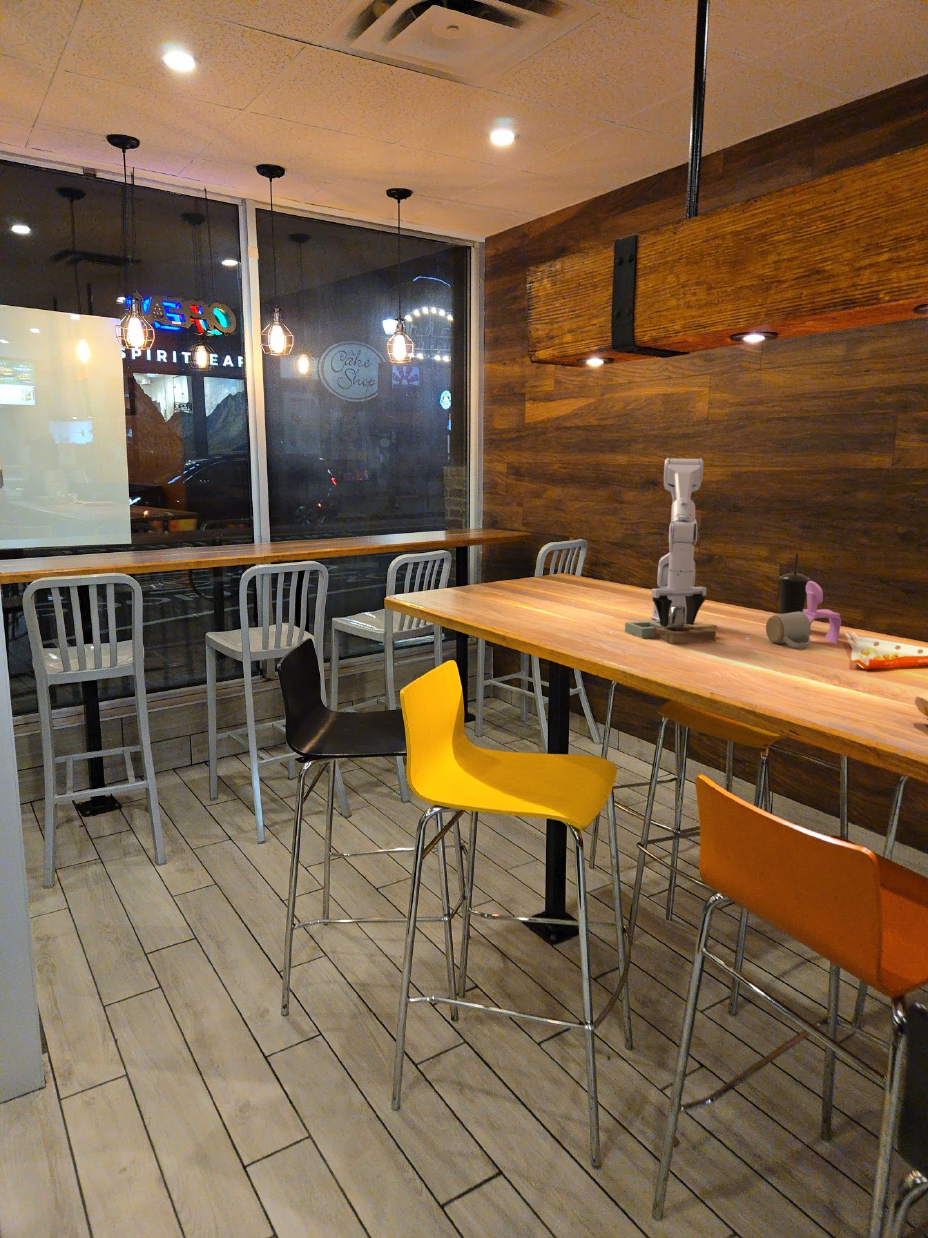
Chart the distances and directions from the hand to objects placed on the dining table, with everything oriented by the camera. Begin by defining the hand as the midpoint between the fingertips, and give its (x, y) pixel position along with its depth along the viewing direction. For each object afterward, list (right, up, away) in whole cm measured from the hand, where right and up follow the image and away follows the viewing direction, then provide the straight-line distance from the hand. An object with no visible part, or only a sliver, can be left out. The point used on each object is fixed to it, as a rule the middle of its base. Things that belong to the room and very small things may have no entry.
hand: (676, 625), depth 208 cm
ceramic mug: (+27, -5, -3) cm, 28 cm away
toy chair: (+35, -4, +1) cm, 35 cm away
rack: (-3, -2, +7) cm, 8 cm away
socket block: (+2, -3, +1) cm, 4 cm away
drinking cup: (+34, -1, +15) cm, 37 cm away
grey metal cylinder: (0, -3, +1) cm, 4 cm away
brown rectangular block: (+7, -3, +3) cm, 8 cm away
